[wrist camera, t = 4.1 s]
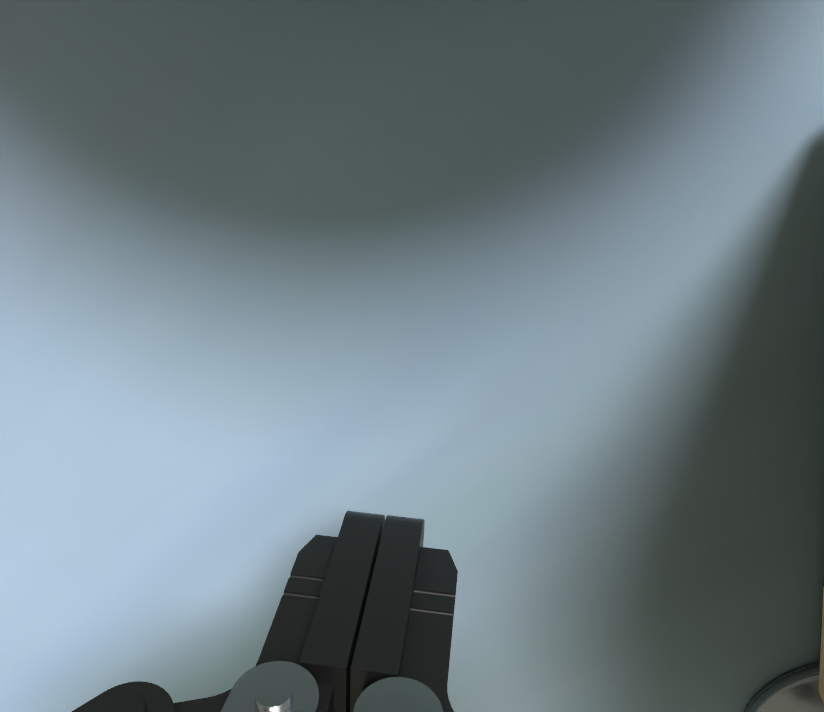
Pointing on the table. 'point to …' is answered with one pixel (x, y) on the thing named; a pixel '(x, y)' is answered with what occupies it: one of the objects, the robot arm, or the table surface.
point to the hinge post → (790, 693)
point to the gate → (822, 658)
